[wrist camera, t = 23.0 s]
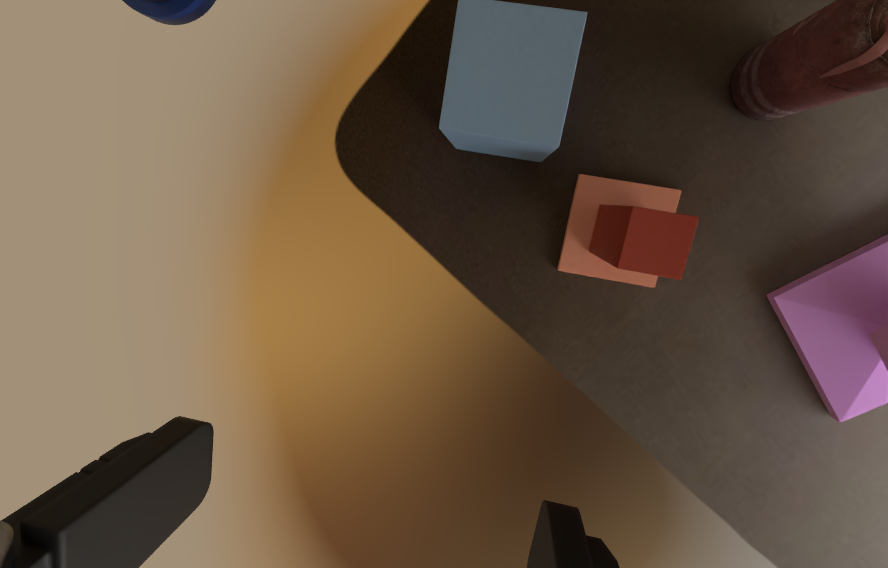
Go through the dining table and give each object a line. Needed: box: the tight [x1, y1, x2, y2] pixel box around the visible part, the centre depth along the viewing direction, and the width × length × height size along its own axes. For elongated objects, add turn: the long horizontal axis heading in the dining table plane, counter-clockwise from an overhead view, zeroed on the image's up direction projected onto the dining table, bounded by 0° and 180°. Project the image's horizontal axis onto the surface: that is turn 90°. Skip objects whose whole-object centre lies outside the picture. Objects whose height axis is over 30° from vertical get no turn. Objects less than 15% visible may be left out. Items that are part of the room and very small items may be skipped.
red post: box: [589, 204, 699, 280], centre depth 34 cm, size 4×4×10 cm
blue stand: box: [439, 0, 587, 162], centre depth 33 cm, size 8×8×12 cm
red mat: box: [557, 174, 681, 288], centre depth 40 cm, size 9×9×1 cm
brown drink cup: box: [731, 0, 888, 121], centre depth 29 cm, size 6×6×14 cm
